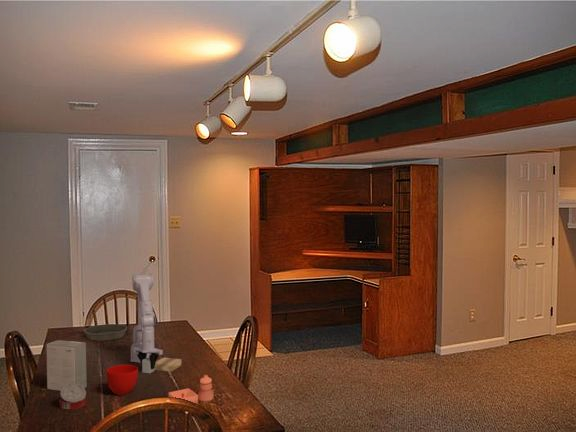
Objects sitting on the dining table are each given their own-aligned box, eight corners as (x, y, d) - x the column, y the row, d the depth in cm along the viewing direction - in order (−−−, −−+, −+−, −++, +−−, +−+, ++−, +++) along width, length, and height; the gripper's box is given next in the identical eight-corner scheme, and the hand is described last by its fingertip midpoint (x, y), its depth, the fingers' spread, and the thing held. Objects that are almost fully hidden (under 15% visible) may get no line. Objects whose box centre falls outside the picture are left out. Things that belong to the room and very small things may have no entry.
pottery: (176, 410, 218) (176, 385, 218) (167, 402, 226) (167, 378, 226) (218, 400, 228) (218, 377, 228) (208, 393, 236) (208, 371, 236)
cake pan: (116, 328, 348) (116, 321, 348) (134, 336, 330) (134, 329, 330) (77, 335, 331) (77, 328, 331) (94, 344, 313) (94, 336, 313)
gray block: (142, 372, 263) (142, 360, 262) (146, 369, 266) (146, 357, 266) (149, 373, 261) (149, 360, 261) (154, 370, 265) (154, 358, 265)
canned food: (83, 412, 228) (95, 390, 229) (74, 419, 218) (87, 396, 218) (58, 399, 228) (70, 377, 229) (49, 406, 218) (61, 383, 218)
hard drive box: (87, 387, 243) (86, 342, 242) (75, 393, 236) (74, 347, 235) (58, 383, 248) (58, 339, 247) (46, 389, 241) (45, 343, 240)
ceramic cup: (121, 382, 249) (121, 360, 248) (144, 391, 238) (144, 368, 238) (95, 390, 239) (95, 367, 238) (118, 400, 228) (117, 376, 228)
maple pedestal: (152, 369, 268) (152, 363, 268) (163, 363, 277) (163, 357, 277) (171, 371, 265) (171, 365, 265) (181, 365, 274) (181, 359, 274)
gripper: (129, 340, 262) (130, 369, 262) (157, 343, 257) (157, 372, 258) (138, 337, 268) (138, 364, 269) (164, 339, 264) (165, 367, 265)
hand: (148, 368), depth 264 cm, fingers closed on gray block, 4 cm apart
